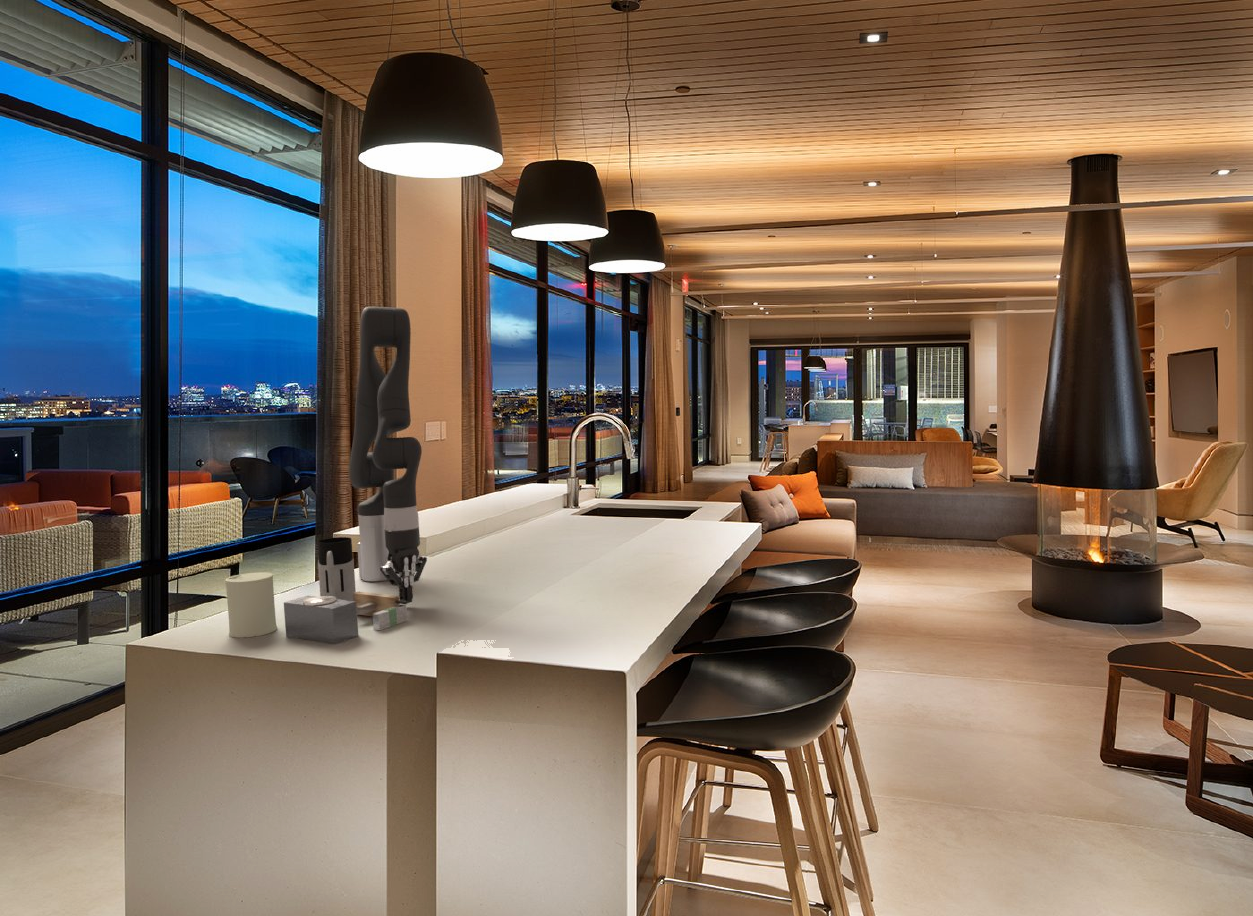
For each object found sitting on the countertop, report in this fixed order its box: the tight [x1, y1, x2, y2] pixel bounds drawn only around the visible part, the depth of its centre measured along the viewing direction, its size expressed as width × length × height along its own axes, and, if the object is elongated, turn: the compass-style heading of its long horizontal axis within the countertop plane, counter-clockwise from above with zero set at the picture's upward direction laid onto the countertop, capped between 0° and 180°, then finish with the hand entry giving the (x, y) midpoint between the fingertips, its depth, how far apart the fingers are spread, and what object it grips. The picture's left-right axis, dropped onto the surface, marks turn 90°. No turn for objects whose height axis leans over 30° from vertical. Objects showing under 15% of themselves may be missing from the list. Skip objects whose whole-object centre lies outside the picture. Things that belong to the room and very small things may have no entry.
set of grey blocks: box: [283, 595, 408, 645], centre depth 177 cm, size 15×19×7 cm
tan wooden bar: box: [353, 591, 408, 617], centre depth 183 cm, size 15×6×5 cm, turn 61°
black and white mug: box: [317, 536, 357, 601], centre depth 196 cm, size 9×14×15 cm, turn 10°
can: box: [224, 571, 278, 639], centre depth 178 cm, size 9×9×12 cm
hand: (406, 602), depth 193 cm, fingers closed
